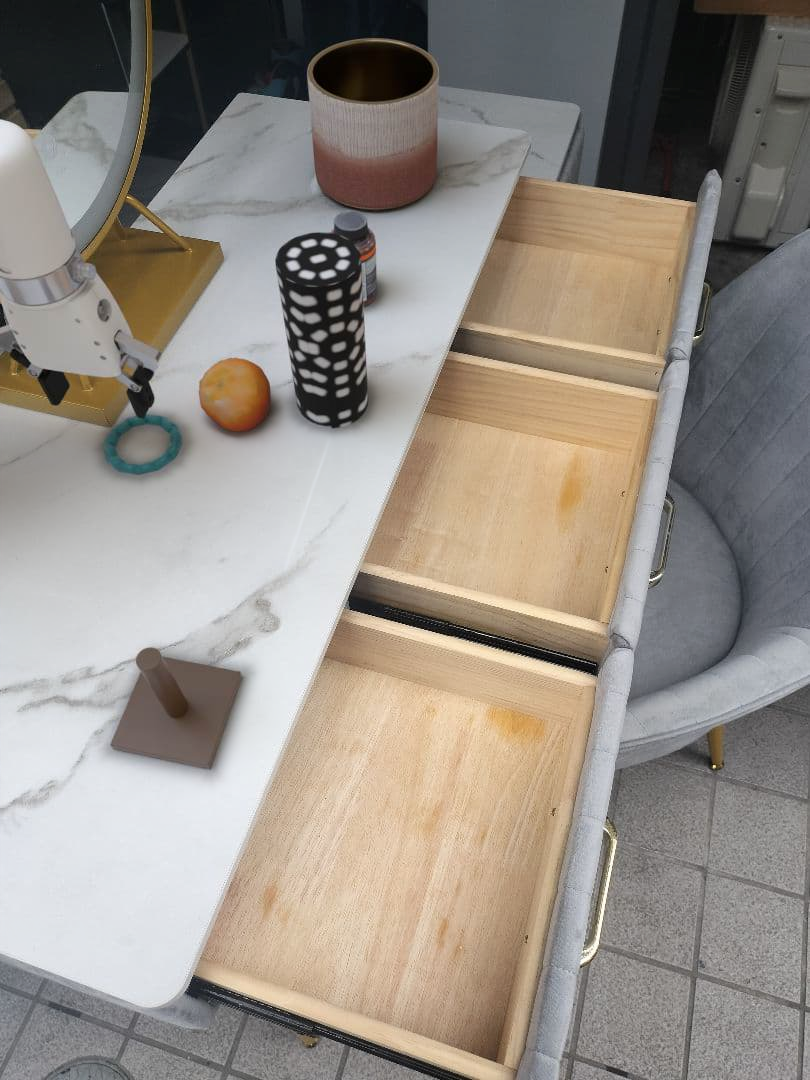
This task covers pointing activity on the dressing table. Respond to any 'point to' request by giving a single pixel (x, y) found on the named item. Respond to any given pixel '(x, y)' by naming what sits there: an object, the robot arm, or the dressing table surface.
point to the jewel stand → (176, 710)
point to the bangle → (149, 466)
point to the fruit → (235, 394)
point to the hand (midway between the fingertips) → (103, 402)
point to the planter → (374, 122)
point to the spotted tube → (325, 326)
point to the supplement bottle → (360, 248)
